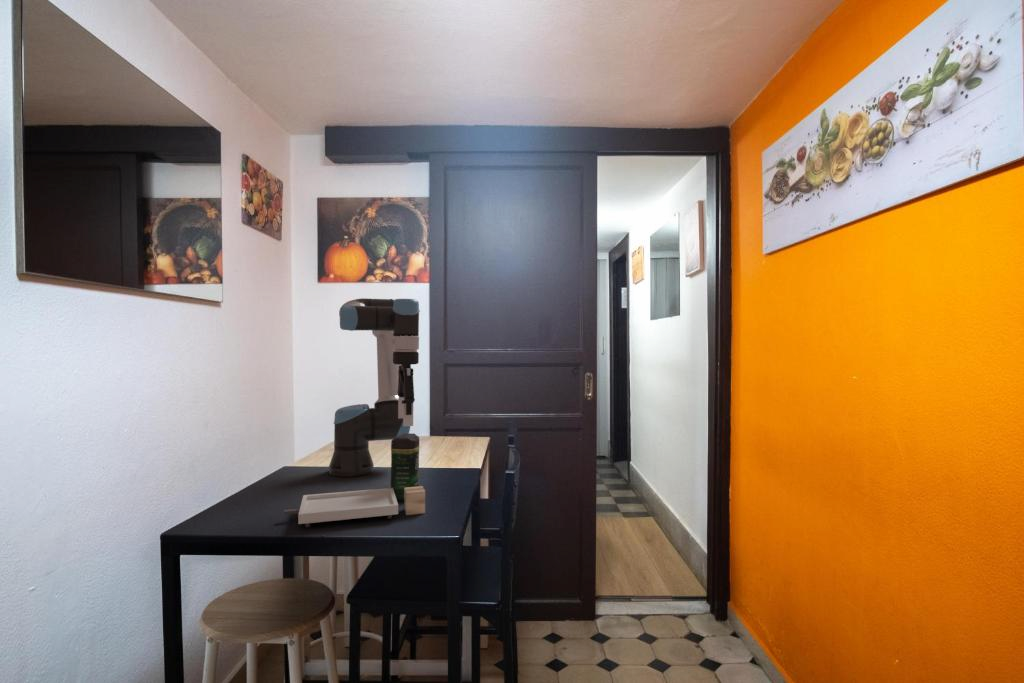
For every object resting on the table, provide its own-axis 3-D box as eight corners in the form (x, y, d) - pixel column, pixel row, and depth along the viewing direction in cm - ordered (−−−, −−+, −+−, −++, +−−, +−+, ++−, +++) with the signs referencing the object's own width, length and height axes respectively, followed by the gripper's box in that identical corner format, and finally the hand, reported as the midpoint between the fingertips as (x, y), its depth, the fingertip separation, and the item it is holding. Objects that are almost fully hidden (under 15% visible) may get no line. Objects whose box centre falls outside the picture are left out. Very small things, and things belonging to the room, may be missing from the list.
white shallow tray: (287, 511, 138) (287, 496, 138) (392, 501, 146) (392, 487, 146) (280, 532, 123) (280, 516, 123) (398, 520, 131) (398, 504, 131)
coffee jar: (414, 501, 147) (414, 437, 146) (387, 501, 147) (387, 437, 147) (421, 491, 156) (422, 431, 156) (396, 491, 157) (396, 431, 156)
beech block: (404, 509, 140) (404, 487, 140) (422, 507, 142) (422, 486, 142) (406, 515, 135) (406, 492, 135) (425, 513, 137) (425, 491, 137)
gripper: (389, 349, 161) (388, 415, 161) (397, 352, 137) (396, 430, 138) (412, 349, 163) (412, 414, 164) (425, 352, 140) (424, 428, 140)
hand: (405, 422), depth 151 cm, fingers open, 13 cm apart
